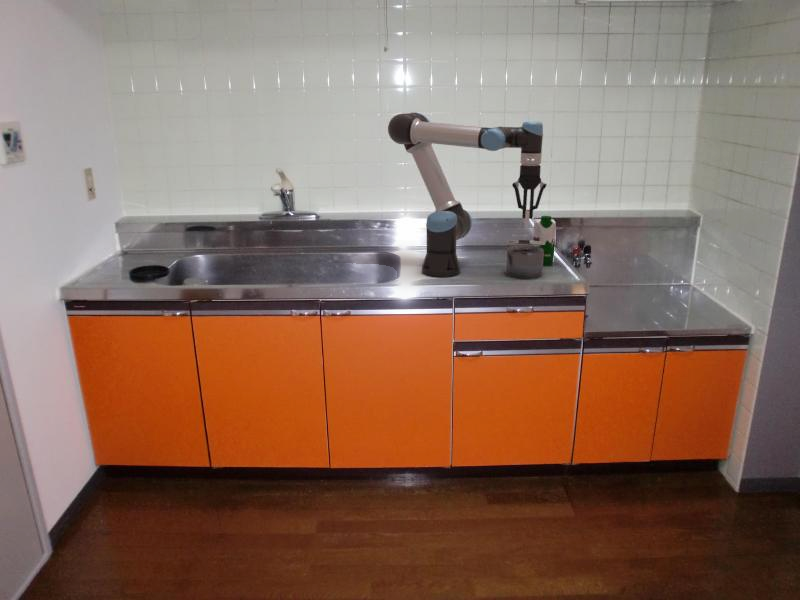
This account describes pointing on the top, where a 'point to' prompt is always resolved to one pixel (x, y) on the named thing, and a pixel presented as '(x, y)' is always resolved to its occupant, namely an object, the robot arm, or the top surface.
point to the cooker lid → (527, 241)
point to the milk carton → (546, 237)
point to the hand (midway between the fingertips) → (526, 226)
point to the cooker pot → (524, 262)
